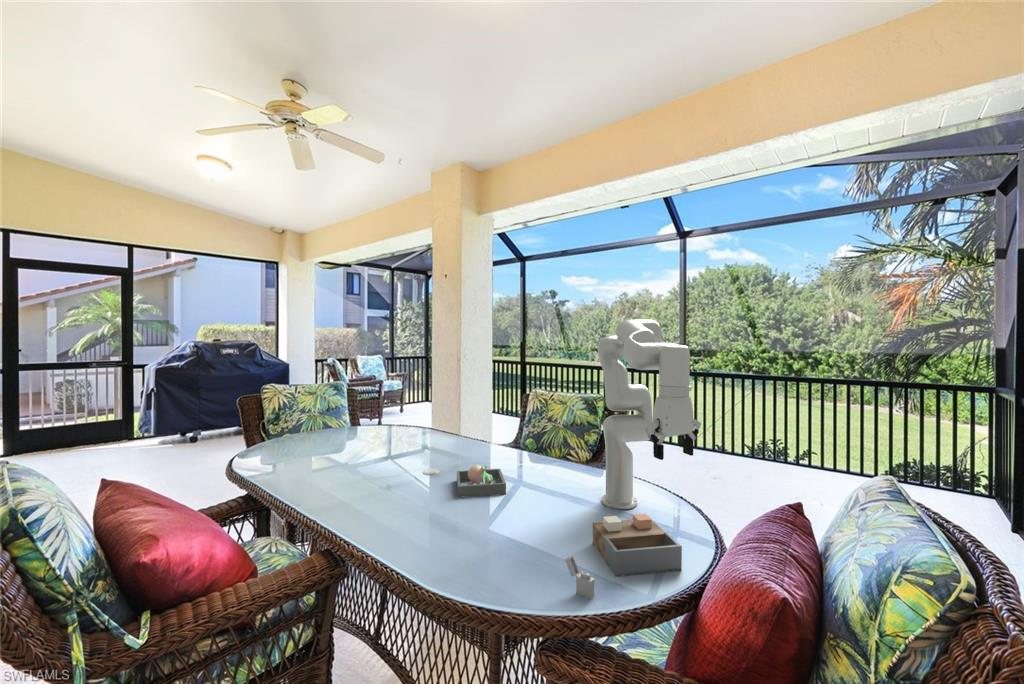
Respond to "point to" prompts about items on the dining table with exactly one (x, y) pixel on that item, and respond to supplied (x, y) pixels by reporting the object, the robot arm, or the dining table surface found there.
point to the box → (644, 558)
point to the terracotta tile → (642, 521)
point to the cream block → (612, 523)
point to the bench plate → (627, 536)
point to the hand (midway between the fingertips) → (673, 456)
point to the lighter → (581, 579)
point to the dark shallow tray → (481, 488)
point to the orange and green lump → (479, 475)
